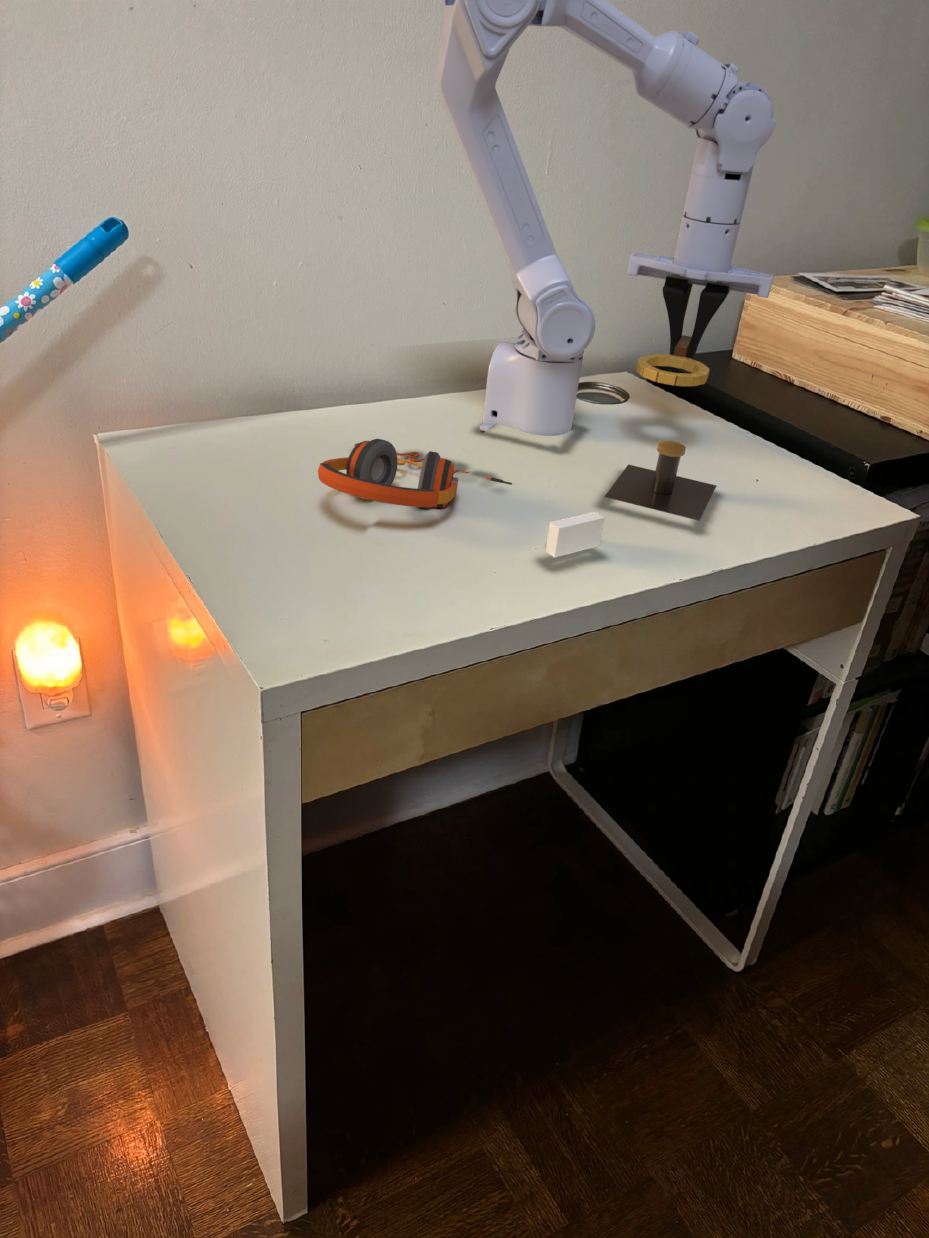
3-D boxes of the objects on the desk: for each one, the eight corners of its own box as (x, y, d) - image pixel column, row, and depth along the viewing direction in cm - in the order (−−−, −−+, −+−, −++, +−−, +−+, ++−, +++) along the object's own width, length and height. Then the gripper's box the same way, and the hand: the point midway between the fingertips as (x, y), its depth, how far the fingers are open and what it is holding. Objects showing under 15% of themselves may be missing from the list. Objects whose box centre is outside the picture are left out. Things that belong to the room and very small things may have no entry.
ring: (701, 391, 91) (706, 371, 89) (629, 377, 92) (633, 357, 91) (716, 360, 100) (721, 342, 99) (651, 348, 102) (655, 330, 101)
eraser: (543, 561, 77) (549, 521, 75) (588, 549, 79) (595, 511, 77) (552, 567, 76) (559, 528, 74) (597, 556, 78) (605, 517, 76)
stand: (602, 506, 87) (612, 450, 84) (626, 473, 94) (636, 420, 91) (697, 530, 84) (711, 473, 81) (714, 494, 91) (727, 441, 88)
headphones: (364, 466, 95) (265, 497, 77) (371, 415, 94) (271, 434, 76) (517, 504, 91) (451, 546, 73) (528, 451, 90) (463, 481, 71)
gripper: (632, 213, 91) (608, 351, 98) (782, 236, 87) (746, 377, 94) (645, 205, 96) (622, 335, 104) (787, 226, 93) (753, 359, 100)
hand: (682, 354), depth 99 cm, fingers closed on ring, 1 cm apart
